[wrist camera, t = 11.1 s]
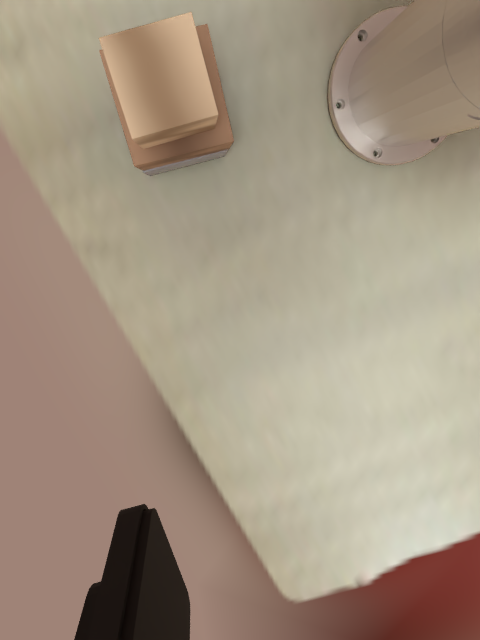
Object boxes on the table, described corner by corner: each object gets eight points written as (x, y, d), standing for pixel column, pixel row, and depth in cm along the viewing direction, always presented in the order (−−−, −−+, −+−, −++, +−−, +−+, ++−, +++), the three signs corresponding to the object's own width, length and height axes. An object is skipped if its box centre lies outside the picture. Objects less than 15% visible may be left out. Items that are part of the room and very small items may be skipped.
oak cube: (192, 45, 26) (191, 11, 21) (214, 128, 27) (218, 114, 23) (116, 67, 26) (98, 37, 21) (143, 149, 27) (131, 139, 23)
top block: (205, 51, 30) (207, 23, 26) (228, 149, 33) (233, 140, 28) (114, 73, 30) (99, 50, 26) (143, 170, 32) (134, 166, 28)
